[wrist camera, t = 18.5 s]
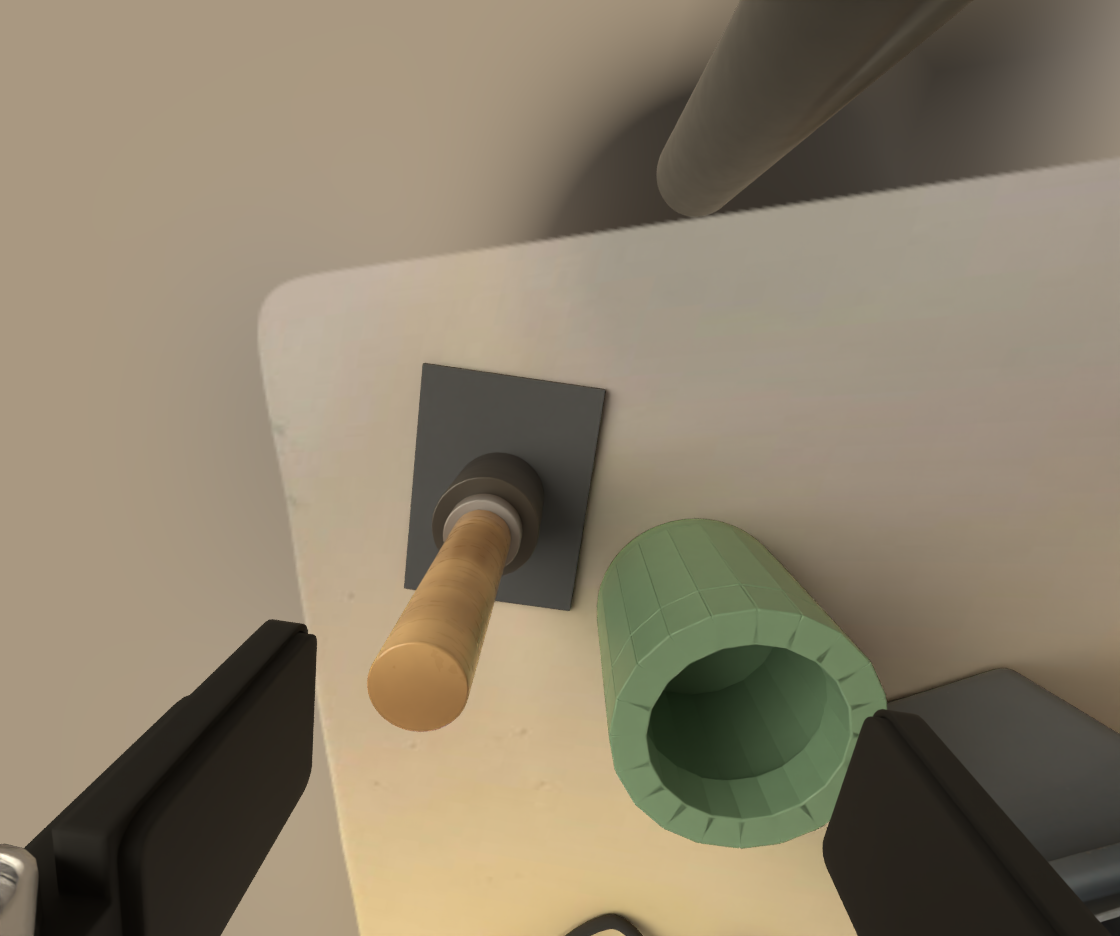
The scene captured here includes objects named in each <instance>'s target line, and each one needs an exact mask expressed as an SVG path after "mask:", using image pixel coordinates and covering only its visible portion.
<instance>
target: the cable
mask: <svg viewBox="0 0 1120 936" xmlns="http://www.w3.org/2000/svg"><path fill="white" fill-rule="evenodd" d="M608 929H615V930H618V931H620V932H621V933H623V934H624V935H625V936H643V935H642V934H641V933H640V932H639V931H638V930H637V928H636V927H635V926H633V925H632V924H631V923H630V922H629V921H627V920H626V919H624V918H623V917H620V916H617V915H612V914H609V915H603V916H600V917H597V918H594V919H592V920H590V921H587V922H585V923H584V924H582V925H580V926H578V927H577V928H575V929H574V930H572V931H571V932H569V933H568V934H567V935H565V936H591V935H594V934H596V933H598V932H601V931H604V930H608Z"/></svg>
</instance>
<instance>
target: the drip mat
mask: <svg viewBox="0 0 1120 936" xmlns="http://www.w3.org/2000/svg"><path fill="white" fill-rule="evenodd" d="M604 397H605V389H600V388H593V387H586V386H579V385H573V384H566V383H559V382H552V381H545V380H538V379H531V378H524V377H517V376H510V375H504V374H497V373H490V372H483V371H476V370H469V369H462V368H455V367H448V366H441V365H435V364H428V363H424V364H423V366H422V378H421V390H420V402H419V414H418V426H417V438H416V450H415V463H414V475H413V487H412V499H411V511H410V523H409V535H408V547H407V559H406V571H405V583H404V588H406V589H413V590H417V588H418V586H419V584H420V583H421V581H422V579H423V578H424V576H425V574H426V573H427V571H428V569H429V568H430V566H431V564H432V563H433V561H434V559H435V557H436V556H437V554H438V552H439V551H438V549H437V547H436V544H435V542H434V539H433V535H432V517H433V513H434V510H435V507H436V505H437V503H438V501H439V500H440V498H441V497H442V495H443V494H444V493H445V491H446V490H447V489H448V488H449V486H450V485H451V484H452V482H453V481H454V480H455V479H456V477H457V476H458V475H459V473H460V472H461V471H462V470H463V468H464V467H465V466H466V465H467V464H468V463H469V462H471V461H472V460H474V459H475V458H477V457H479V456H481V455H484V454H488V453H496V452H500V453H508V454H512V455H515V456H517V457H519V458H521V459H523V460H524V461H526V462H527V463H528V464H529V465H530V466H531V467H532V468H533V469H534V470H535V471H536V473H537V474H538V476H539V478H540V480H541V483H542V486H543V490H544V504H543V511H542V518H541V524H540V531H539V537H538V542H537V545H536V548H535V550H534V552H533V554H532V555H531V557H530V558H529V560H528V561H527V562H526V563H525V564H524V565H523V566H521V567H520V568H519V569H518V570H516V571H514V572H513V573H510V574H508V575H505V576H502V577H501V580H500V584H499V587H498V591H497V595H496V598H495V601H500V602H508V603H515V604H522V605H530V606H537V607H544V608H552V609H559V610H566V611H570V608H571V602H572V595H573V589H574V583H575V577H576V570H577V564H578V558H579V552H580V546H581V539H582V533H583V527H584V521H585V515H586V508H587V502H588V496H589V490H590V484H591V477H592V471H593V465H594V459H595V452H596V446H597V440H598V434H599V428H600V421H601V415H602V409H603V403H604Z"/></svg>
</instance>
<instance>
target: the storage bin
mask: <svg viewBox="0 0 1120 936" xmlns="http://www.w3.org/2000/svg"><path fill="white" fill-rule="evenodd" d="M887 710H893V711H900V712H906V713H913V714H916V715H919V716H920V717H921V718H922V719H923V720H924V721H925V722H926V723H927V724H928V725H929V726H930V728H931V729H932V730H933V731H934V732H935V733H936V734H937V736H938V737H939V738H940V739H941V740H942V741H943V742H944V744H945V745H946V746H947V747H948V748H949V749H950V750H951V752H952V753H953V754H954V755H955V756H956V757H957V759H958V760H959V761H960V762H961V763H962V764H963V765H964V767H965V768H966V769H967V770H968V771H969V772H970V773H971V775H972V776H973V777H974V778H975V779H976V780H977V781H978V783H979V784H980V785H981V786H982V787H983V788H984V789H985V791H986V792H987V793H988V794H989V795H990V796H991V797H992V799H993V800H994V801H995V802H996V803H997V804H998V805H999V807H1000V808H1001V809H1002V810H1003V811H1004V812H1005V814H1006V815H1007V816H1008V817H1009V818H1010V819H1011V820H1012V822H1013V823H1014V824H1015V825H1016V826H1017V827H1018V828H1019V830H1020V831H1021V832H1022V833H1023V834H1024V835H1025V836H1026V838H1027V839H1028V840H1029V841H1030V842H1031V843H1032V844H1033V846H1034V847H1035V848H1036V849H1037V850H1038V851H1039V852H1040V854H1041V855H1042V856H1043V857H1044V858H1045V859H1046V861H1047V862H1048V863H1049V864H1050V865H1051V866H1052V867H1053V869H1054V870H1055V871H1056V872H1057V873H1058V874H1059V875H1060V877H1061V878H1062V879H1063V880H1064V881H1065V882H1066V883H1067V885H1068V886H1069V887H1070V888H1071V889H1072V890H1073V891H1074V893H1075V894H1076V895H1077V896H1078V897H1079V898H1080V899H1081V901H1082V902H1083V903H1084V904H1085V905H1086V906H1087V907H1088V909H1089V910H1090V911H1091V912H1092V913H1093V914H1094V916H1095V917H1096V918H1097V919H1098V920H1099V921H1100V922H1101V924H1102V925H1103V926H1104V927H1105V928H1106V929H1107V930H1108V932H1109V933H1110V934H1111V935H1112V936H1120V734H1119V733H1117V732H1115V731H1114V730H1112V729H1110V728H1109V727H1107V726H1105V725H1104V724H1102V723H1100V722H1099V721H1097V720H1095V719H1094V718H1092V717H1090V716H1089V715H1087V714H1085V713H1084V712H1082V711H1081V710H1079V709H1077V708H1076V707H1074V706H1072V705H1071V704H1069V703H1067V702H1066V701H1064V700H1062V699H1061V698H1059V697H1057V696H1056V695H1054V694H1052V693H1051V692H1049V691H1047V690H1046V689H1044V688H1042V687H1041V686H1039V685H1037V684H1036V683H1034V682H1032V681H1031V680H1029V679H1027V678H1026V677H1024V676H1022V675H1021V674H1019V673H1017V672H1016V671H1014V670H1011V669H1007V668H1000V669H994V670H991V671H987V672H984V673H981V674H978V675H975V676H972V677H969V678H966V679H963V680H960V681H956V682H953V683H950V684H947V685H944V686H941V687H938V688H934V689H931V690H928V691H925V692H922V693H919V694H916V695H912V696H909V697H906V698H903V699H899V700H896V701H892V702H889V703H887Z"/></svg>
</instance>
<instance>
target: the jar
mask: <svg viewBox="0 0 1120 936" xmlns="http://www.w3.org/2000/svg"><path fill="white" fill-rule="evenodd" d="M597 624H598V634H599V644H600V654H601V663H602V673H603V683H604V693H605V703H606V713H607V723H608V733H609V740H610V746H611V751H612V757H613V763H614V768H615V771H616V774H617V775H618V777H619V779H620V780H621V782H622V784H623V785H624V787H625V789H626V790H627V792H628V794H629V795H630V797H631V799H632V800H633V802H634V803H635V805H636V806H637V807H639V808H640V809H641V810H642V811H643V812H645V813H646V814H647V815H648V816H649V817H650V818H652V819H653V820H654V821H655V822H656V823H658V824H659V825H660V826H661V827H662V828H664V829H666V830H668V831H671V832H673V833H675V834H678V835H680V836H683V837H685V838H687V839H690V840H692V841H694V842H697V843H702V844H709V845H717V846H725V847H733V848H739V847H740V848H741V849H743V848H751V847H759V846H766V845H774V844H780V843H784V842H786V841H789V840H791V839H794V838H796V837H799V836H801V835H804V834H806V833H809V832H811V831H814V830H816V829H819V827H822V826H824V825H825V824H826V823H828V822H829V821H830V819H831V816H832V813H833V810H834V807H835V804H836V801H837V798H838V795H839V792H840V789H841V786H842V783H843V780H844V777H845V775H846V772H847V769H848V766H849V763H850V760H851V757H852V754H853V751H854V748H855V745H856V742H857V739H858V736H859V733H860V730H861V727H862V724H863V722H864V720H865V719H866V718H867V717H870V716H872V717H873V715H874V713H875V712H876V711H877V710H880V709H886V710H887V699H886V694H885V692H884V690H883V688H882V685H881V683H880V681H879V679H878V676H877V674H876V672H875V670H874V668H873V665H872V663H871V662H870V661H869V659H868V658H867V657H866V656H865V655H864V654H863V653H862V651H861V650H860V649H859V648H858V647H857V646H856V645H855V644H854V643H853V642H852V641H851V640H850V638H849V637H848V636H847V635H846V634H845V633H844V632H843V631H842V630H841V629H840V628H839V626H838V625H837V624H836V623H835V622H834V621H833V620H832V619H831V618H830V617H829V616H828V614H827V613H826V612H825V611H824V610H823V609H822V608H821V607H820V606H819V605H818V604H817V603H816V601H815V600H814V599H813V598H812V597H811V596H810V595H809V594H808V593H807V592H806V591H805V590H804V588H803V587H802V586H801V585H800V584H799V583H798V582H797V581H796V580H795V579H794V578H793V577H792V575H791V574H790V573H789V572H788V571H787V570H786V569H785V568H784V567H783V566H782V565H781V564H780V562H779V561H778V560H777V559H776V558H775V557H774V556H773V555H772V554H771V553H770V552H769V551H768V550H767V549H766V548H765V547H764V546H763V545H762V544H761V543H760V542H759V541H758V540H756V539H755V538H754V537H752V536H751V535H749V534H748V533H747V532H745V531H743V530H741V529H739V528H737V527H735V526H732V525H729V524H726V523H724V522H719V521H714V520H708V519H683V520H677V521H672V522H668V523H665V524H662V525H659V526H657V527H654V528H652V529H650V530H648V531H646V532H644V533H643V534H641V535H639V536H638V537H636V538H635V539H634V540H632V541H631V542H630V543H629V544H627V545H626V546H625V547H624V548H623V549H622V550H621V551H620V552H619V553H618V555H617V556H616V557H615V559H614V560H613V561H612V563H611V564H610V566H609V568H608V569H607V571H606V573H605V575H604V578H603V580H602V583H601V586H600V590H599V594H598V603H597Z"/></svg>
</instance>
